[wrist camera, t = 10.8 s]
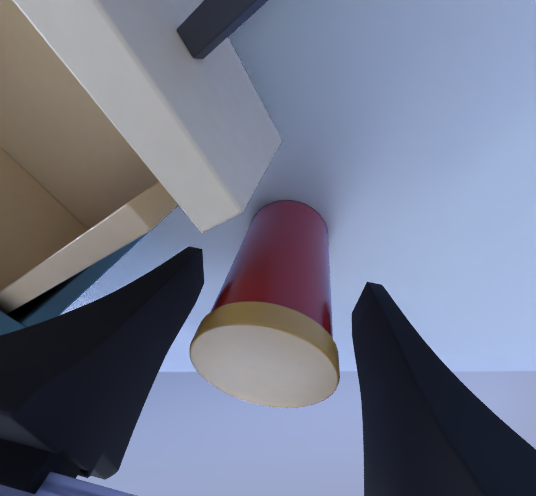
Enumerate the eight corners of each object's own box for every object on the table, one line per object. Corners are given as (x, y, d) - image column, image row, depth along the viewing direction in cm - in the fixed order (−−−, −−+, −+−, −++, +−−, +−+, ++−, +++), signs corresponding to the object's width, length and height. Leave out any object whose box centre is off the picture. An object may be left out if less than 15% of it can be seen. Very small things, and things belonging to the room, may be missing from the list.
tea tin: (245, 259, 16) (193, 389, 9) (251, 189, 13) (181, 306, 6) (319, 274, 15) (318, 420, 9) (341, 206, 13) (363, 346, 6)
